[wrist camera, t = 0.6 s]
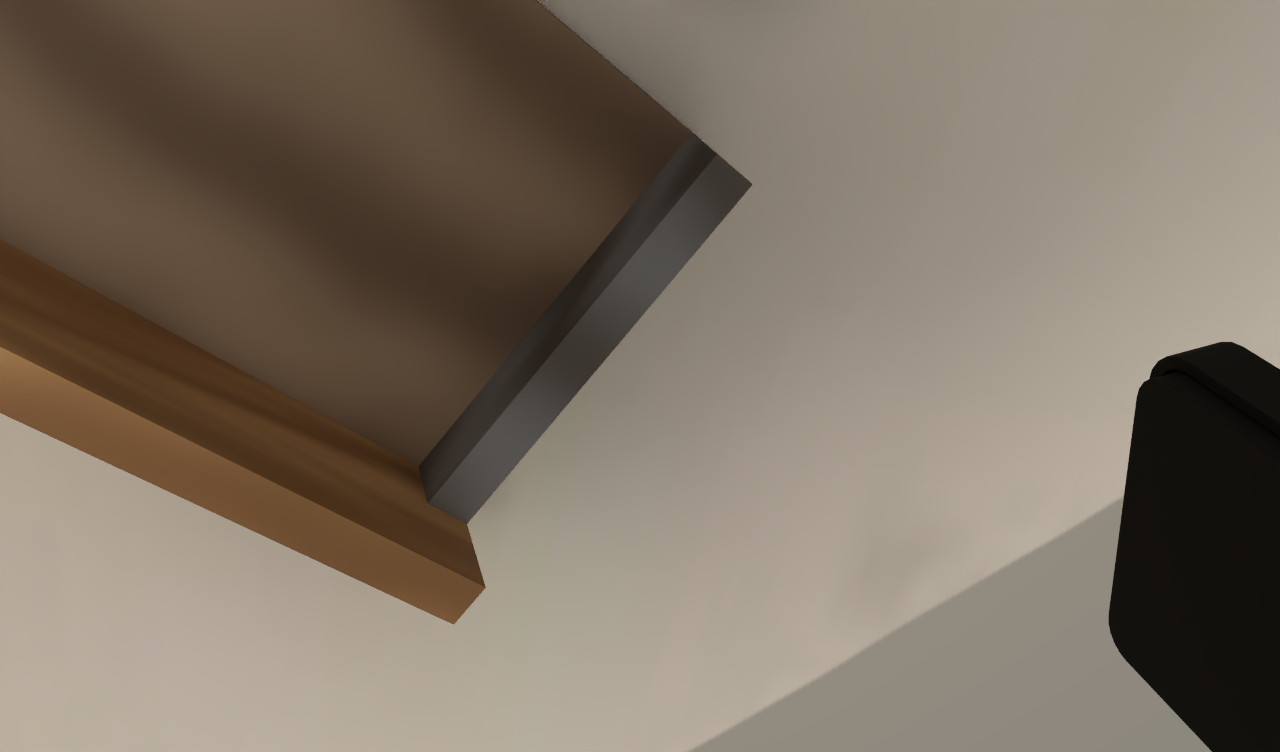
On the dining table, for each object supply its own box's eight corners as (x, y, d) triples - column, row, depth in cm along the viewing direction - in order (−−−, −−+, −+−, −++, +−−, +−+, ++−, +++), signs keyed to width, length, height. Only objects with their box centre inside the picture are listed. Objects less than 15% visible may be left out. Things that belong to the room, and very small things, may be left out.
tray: (51, -411, 25) (-11, -462, 19) (696, 136, 35) (797, 223, 29) (-270, 107, 28) (-419, 216, 21) (417, 476, 38) (453, 624, 31)
